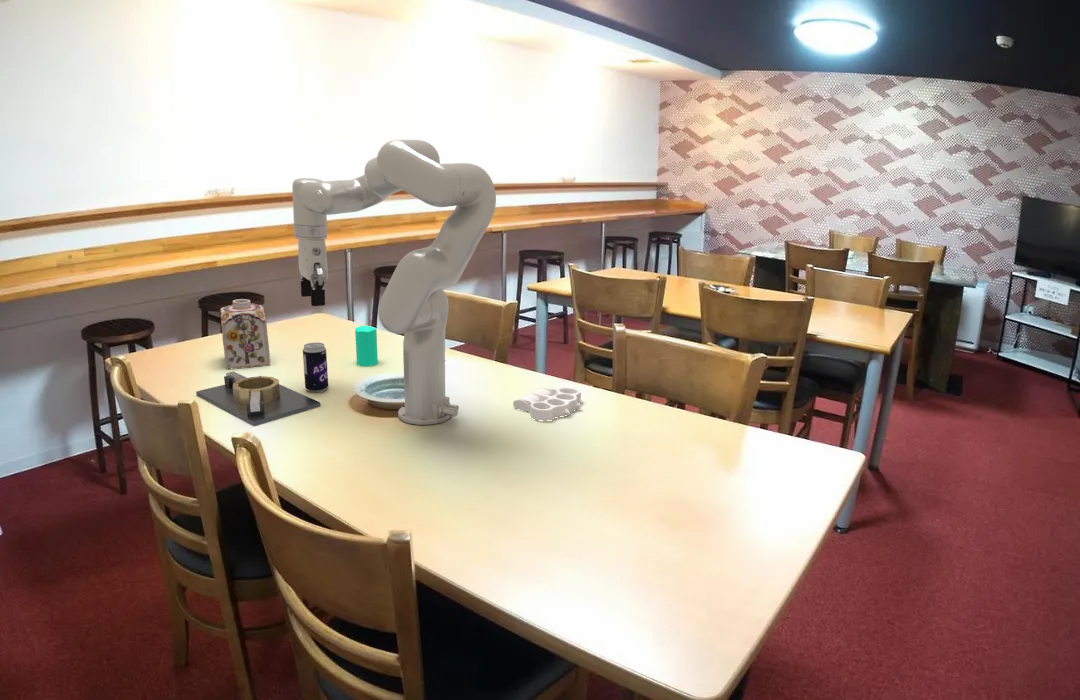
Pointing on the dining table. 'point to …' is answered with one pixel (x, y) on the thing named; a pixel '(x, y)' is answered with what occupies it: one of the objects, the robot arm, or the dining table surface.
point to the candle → (366, 345)
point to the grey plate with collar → (256, 398)
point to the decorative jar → (244, 335)
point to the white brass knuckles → (549, 402)
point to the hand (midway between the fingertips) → (312, 300)
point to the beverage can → (315, 367)
